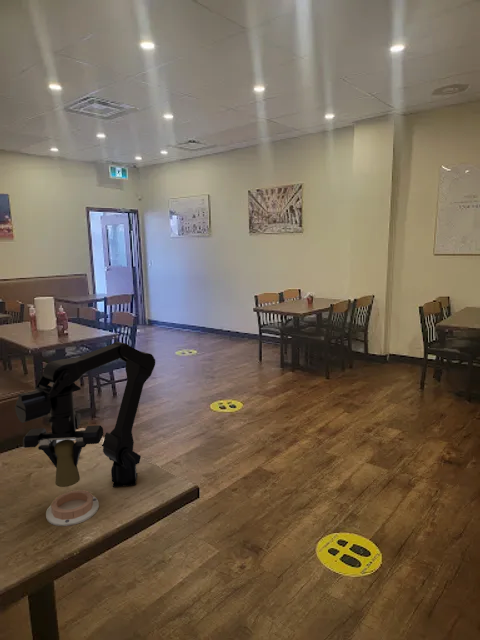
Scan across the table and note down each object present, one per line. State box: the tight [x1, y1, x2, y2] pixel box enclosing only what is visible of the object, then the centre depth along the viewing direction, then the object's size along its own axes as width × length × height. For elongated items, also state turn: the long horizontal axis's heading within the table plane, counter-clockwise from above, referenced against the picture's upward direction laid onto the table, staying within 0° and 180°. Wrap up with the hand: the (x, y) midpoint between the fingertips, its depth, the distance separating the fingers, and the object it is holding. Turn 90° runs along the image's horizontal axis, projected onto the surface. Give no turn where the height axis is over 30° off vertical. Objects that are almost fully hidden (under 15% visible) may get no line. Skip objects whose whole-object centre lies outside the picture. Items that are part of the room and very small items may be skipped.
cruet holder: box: [45, 489, 100, 527], centre depth 114 cm, size 13×13×3 cm
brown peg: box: [54, 440, 81, 488], centre depth 114 cm, size 6×6×11 cm
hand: (66, 466), depth 114 cm, fingers closed on brown peg, 4 cm apart
